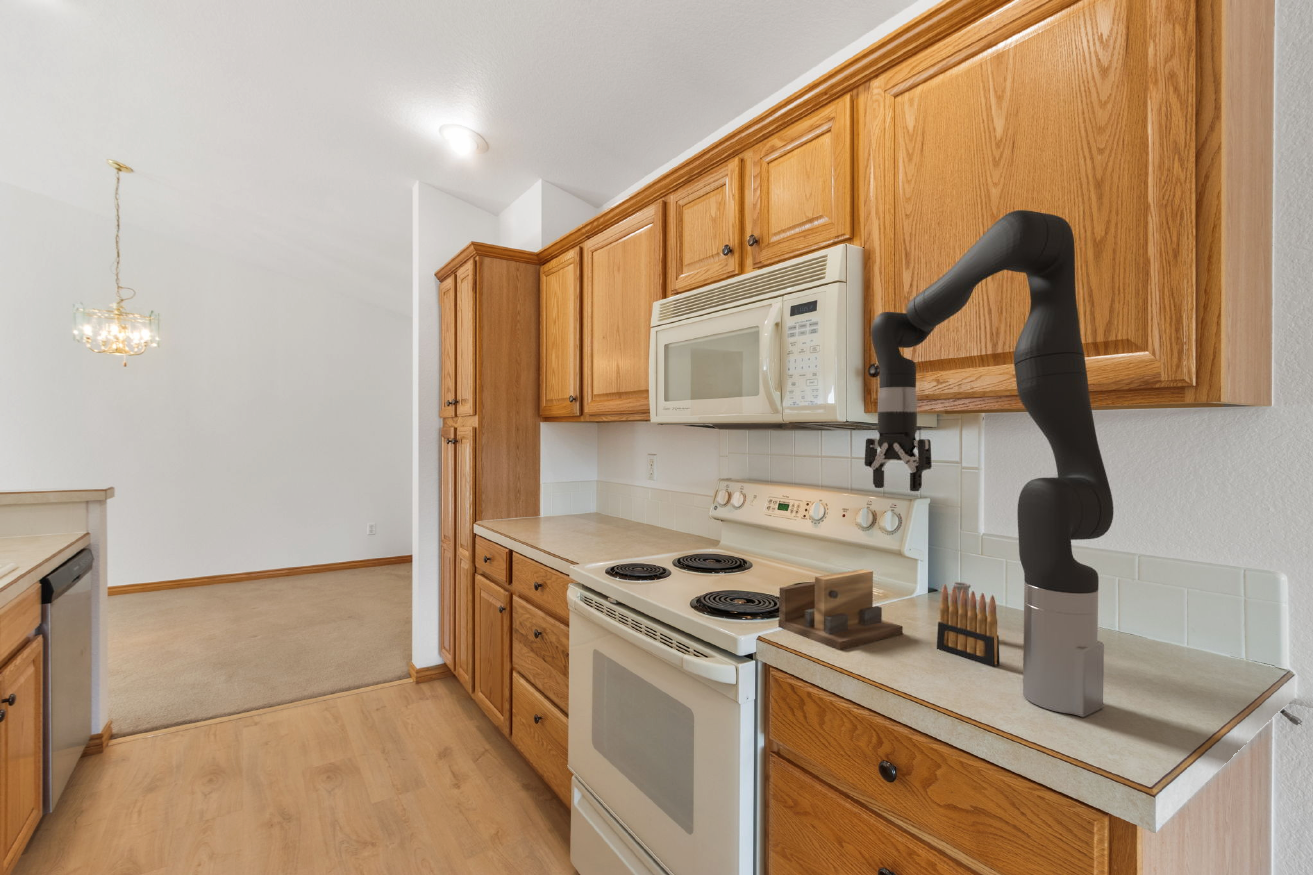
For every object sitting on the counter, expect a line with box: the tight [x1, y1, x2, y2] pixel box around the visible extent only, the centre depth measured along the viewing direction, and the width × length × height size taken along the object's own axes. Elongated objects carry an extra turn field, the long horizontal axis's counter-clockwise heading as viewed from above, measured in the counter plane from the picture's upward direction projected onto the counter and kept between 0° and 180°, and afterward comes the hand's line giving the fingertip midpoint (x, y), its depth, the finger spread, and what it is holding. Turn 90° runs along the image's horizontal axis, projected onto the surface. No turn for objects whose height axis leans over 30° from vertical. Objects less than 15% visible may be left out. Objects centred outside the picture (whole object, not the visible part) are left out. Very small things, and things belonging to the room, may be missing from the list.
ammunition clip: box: [936, 584, 1001, 668], centre depth 111 cm, size 11×2×12 cm, turn 33°
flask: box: [952, 581, 972, 610], centre depth 124 cm, size 7×7×10 cm
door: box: [814, 568, 874, 631], centre depth 124 cm, size 3×14×10 cm, turn 122°
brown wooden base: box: [777, 581, 904, 651], centre depth 126 cm, size 16×18×8 cm
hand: (896, 489), depth 128 cm, fingers open, 8 cm apart
